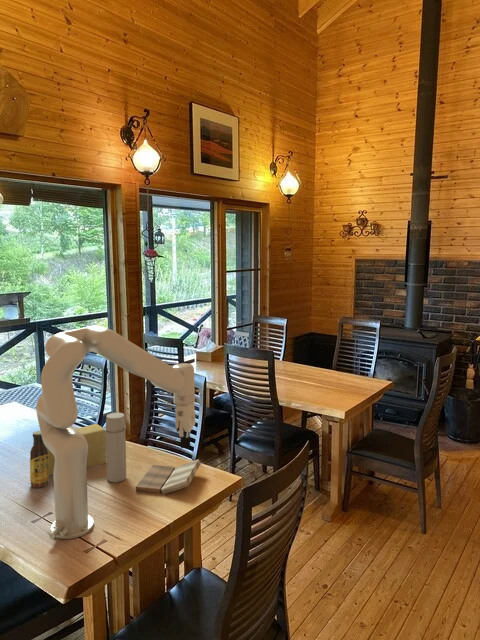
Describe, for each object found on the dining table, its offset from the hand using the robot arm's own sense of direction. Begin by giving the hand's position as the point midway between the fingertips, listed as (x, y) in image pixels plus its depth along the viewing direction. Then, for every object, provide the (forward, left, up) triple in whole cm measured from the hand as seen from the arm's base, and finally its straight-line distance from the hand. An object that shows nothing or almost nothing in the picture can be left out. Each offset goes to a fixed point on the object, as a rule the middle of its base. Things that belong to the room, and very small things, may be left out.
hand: (185, 447), depth 172 cm
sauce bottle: (-8, +53, -16) cm, 56 cm away
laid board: (+2, +12, -15) cm, 20 cm away
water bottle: (+2, +27, -16) cm, 32 cm away
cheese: (+8, +48, -16) cm, 51 cm away
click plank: (+2, +2, -13) cm, 14 cm away
